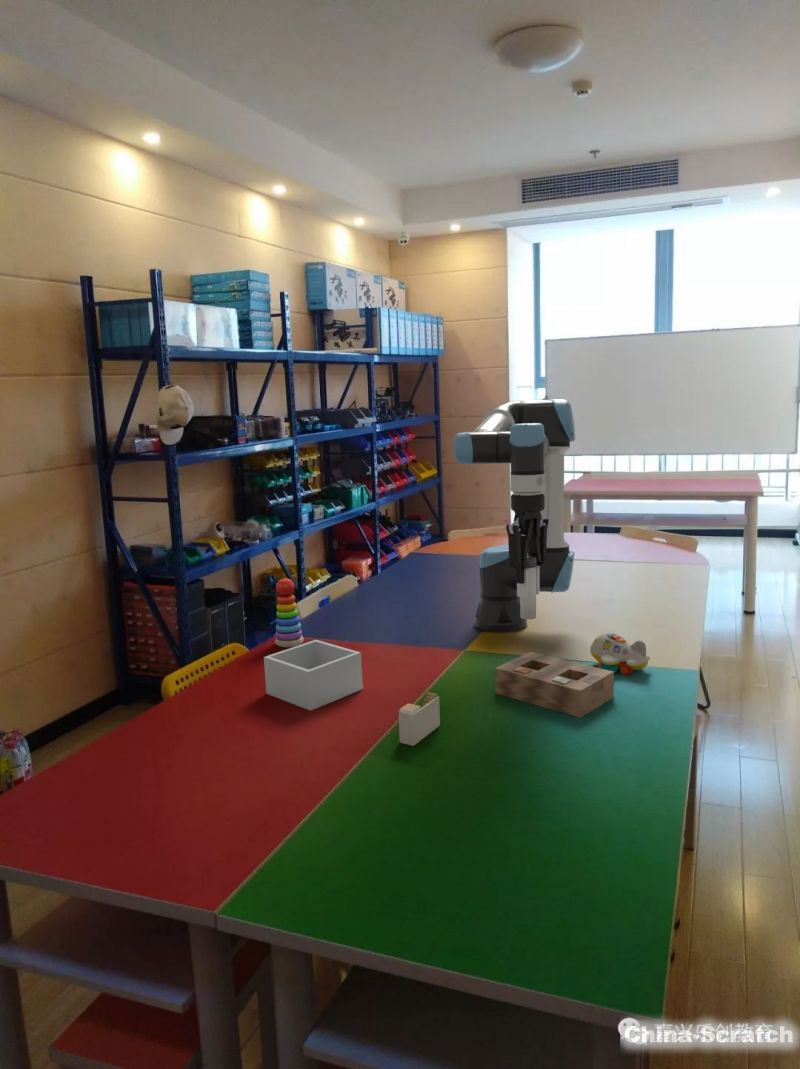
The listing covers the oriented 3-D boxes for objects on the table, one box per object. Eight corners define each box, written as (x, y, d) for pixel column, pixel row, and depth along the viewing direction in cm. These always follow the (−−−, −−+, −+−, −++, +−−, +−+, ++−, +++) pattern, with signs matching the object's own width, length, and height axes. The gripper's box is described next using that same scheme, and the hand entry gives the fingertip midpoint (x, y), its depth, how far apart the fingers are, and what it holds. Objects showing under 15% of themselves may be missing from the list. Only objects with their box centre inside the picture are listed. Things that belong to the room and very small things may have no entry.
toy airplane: (634, 649, 181) (578, 633, 191) (631, 685, 183) (576, 667, 193) (662, 636, 190) (607, 621, 200) (659, 670, 192) (604, 654, 202)
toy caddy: (266, 693, 185) (263, 657, 183) (318, 674, 196) (316, 639, 195) (310, 710, 174) (308, 671, 172) (362, 689, 185) (360, 652, 184)
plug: (516, 617, 181) (516, 557, 178) (526, 614, 183) (526, 555, 181) (530, 620, 178) (530, 559, 176) (540, 616, 181) (539, 557, 178)
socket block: (495, 693, 180) (495, 666, 179) (530, 675, 190) (530, 650, 188) (580, 717, 165) (580, 689, 164) (613, 697, 175) (613, 670, 173)
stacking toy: (309, 640, 223) (305, 576, 219) (293, 649, 216) (289, 583, 212) (285, 638, 226) (281, 574, 223) (269, 646, 219) (265, 581, 216)
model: (399, 744, 157) (398, 708, 155) (426, 724, 166) (425, 689, 164) (413, 747, 155) (412, 711, 154) (440, 727, 164) (439, 692, 163)
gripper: (519, 497, 168) (520, 604, 171) (562, 490, 179) (562, 590, 183) (491, 495, 173) (492, 599, 177) (535, 488, 184) (535, 586, 188)
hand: (528, 594), depth 180 cm, fingers closed on plug, 3 cm apart
